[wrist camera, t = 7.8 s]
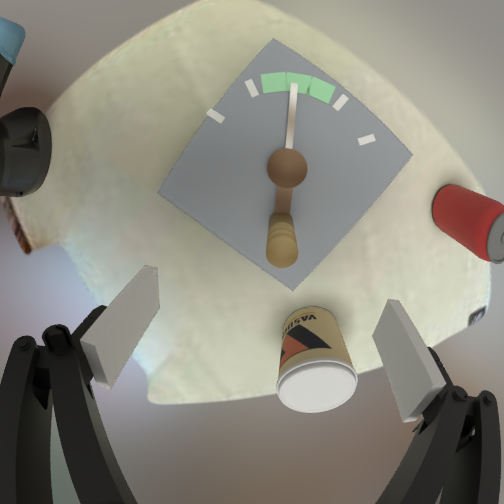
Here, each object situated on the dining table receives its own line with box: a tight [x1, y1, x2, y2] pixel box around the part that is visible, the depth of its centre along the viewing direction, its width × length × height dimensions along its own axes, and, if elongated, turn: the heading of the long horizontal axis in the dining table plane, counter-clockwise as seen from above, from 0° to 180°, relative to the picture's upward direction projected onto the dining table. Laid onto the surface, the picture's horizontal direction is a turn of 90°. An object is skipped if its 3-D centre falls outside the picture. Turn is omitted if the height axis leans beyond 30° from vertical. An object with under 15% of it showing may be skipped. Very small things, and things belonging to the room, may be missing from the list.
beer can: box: [433, 185, 504, 264], centre depth 23 cm, size 7×7×12 cm
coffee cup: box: [276, 307, 358, 413], centre depth 32 cm, size 9×9×12 cm
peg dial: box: [266, 83, 308, 268], centre depth 23 cm, size 16×4×9 cm, turn 176°
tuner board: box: [158, 38, 413, 291], centre depth 28 cm, size 20×22×2 cm
